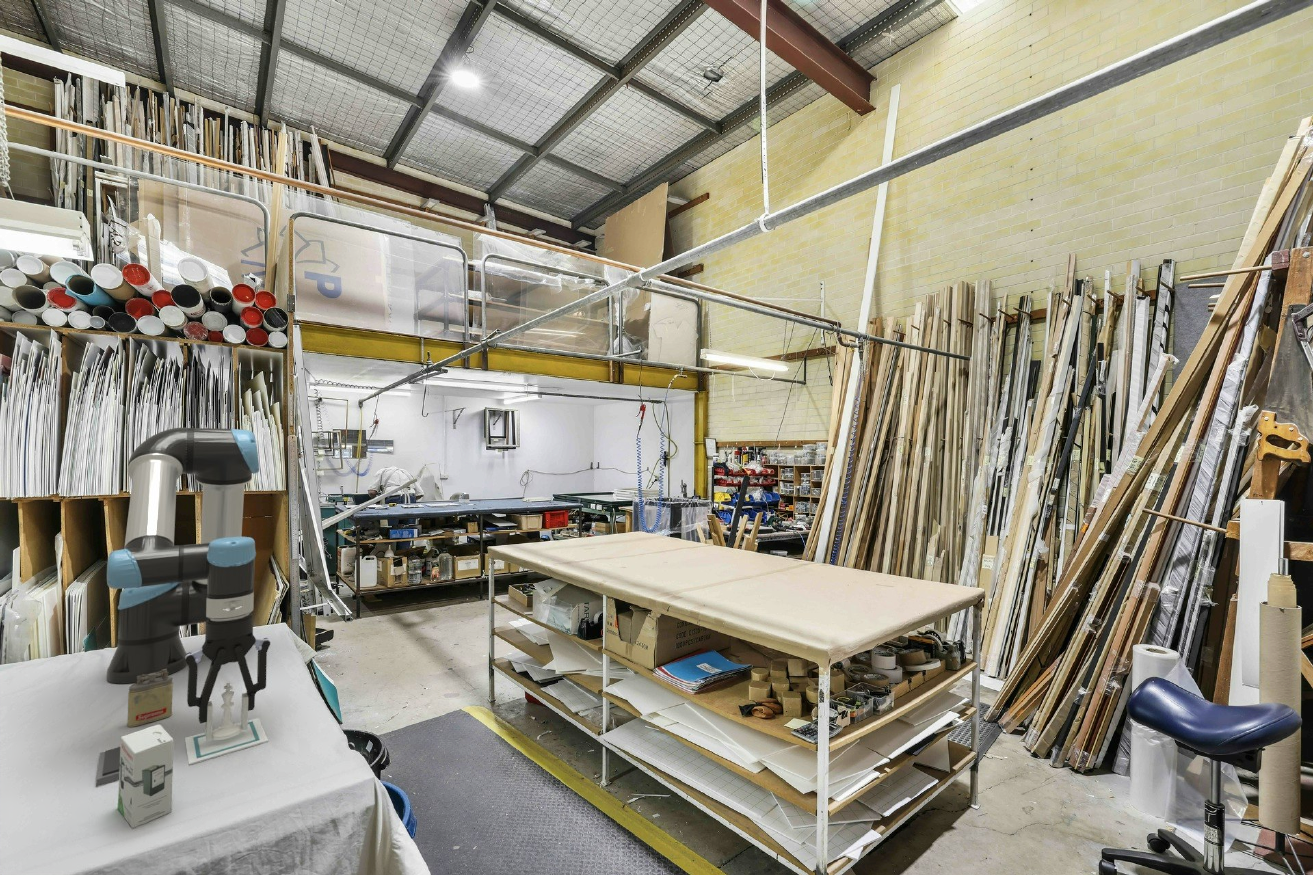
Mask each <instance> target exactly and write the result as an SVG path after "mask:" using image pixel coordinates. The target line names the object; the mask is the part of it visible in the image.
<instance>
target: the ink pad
mask: <svg viewBox="0 0 1313 875" xmlns="http://www.w3.org/2000/svg"><path fill="white" fill-rule="evenodd" d="M97 765H98V766H97V772H96V773H97V774H96V781H95V782H96V784H95V786H96V787H99V786H103V785H107V784H110V783H113V782H117V781H119V771H120V746H117V747H113V748H111V749H106V750H105V751H101V752H99V757H98V764H97Z"/></svg>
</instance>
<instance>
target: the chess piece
mask: <svg viewBox="0 0 1313 875" xmlns="http://www.w3.org/2000/svg"><path fill="white" fill-rule="evenodd" d="M233 688H234V687H233V686H232V685H231V682H228V683H227V682H226V685H224V686H223V690H225V692H223V693H221V698H222V700H223V704H221V705H220V709H223V710H224V711H223V716H222V722H221V725H220V726H219V727H217V728H216V729H213V730H214V731H213V732H212V739H213V740H223V739H228V738H231V737H234V736H236V735H238V734H239V733H240V732H241V731H242V726H241V725H240V724H238V723H235V722H234V721H233V719H232V712H231V711H232V709H231V707H233V706H235V703H234V702H233V701H232V699H233V697H234V695H235V691H233Z"/></svg>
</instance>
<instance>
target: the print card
mask: <svg viewBox="0 0 1313 875" xmlns="http://www.w3.org/2000/svg"><path fill="white" fill-rule="evenodd" d="M237 724H240V725H241V722H238V723H237ZM214 730H215V729H212V732H213V731H214ZM205 734H206V731H205V732H201V733H198V734H194V735H190V736H186V737H184V741H185V742H184V743H185V749H186V755H187V762H188V766H192V765H195V764H198V763H202V762H206V761H209V760H212V759H215V758H218V757H219V758H220V757H221V756H225V755H228V754H232V753H236V752H238V751H242V750H245V749H249V748H252V747H255V746H259V745H262V744H265V743H268V742H269V739H268V737H267V735H266V732H265V730H264V728H263V725H262V723H261V720H260V718H259V717H257V718H252V719H250V720H249V719H248V728H247V730H242V731H241V732H240V733H239V734H238V735H236V736H234V737H231V738H228V739H223V740H213V739H211V740H206V735H205Z"/></svg>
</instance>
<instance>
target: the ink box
mask: <svg viewBox="0 0 1313 875" xmlns="http://www.w3.org/2000/svg"><path fill="white" fill-rule="evenodd" d="M174 742H175V741H174V739H173V737H172V736H171V735H170V734H169V733H168V731H166V729H165V728H164V727H163V726H162V725H161V724H155V725H152V726H149V727H147V728H144V729H141V730H138V731H135V732H131V733H128V734H125V735H122V736H120V746H119V747H120V771H119V780H118V794H117V795H118V798H117V799H118V800H117V809H118V810H119V811H120V813H121V815H122V816H123V817H124V819H125V820H126V822H127V823H128V824H129V826H130V827H131V829H134V828H137V827H138V826H141V825H144V824H147V823H149V822H151V821H154V820H155V819H158V818H161V817H162V816H165V815H167V814H169V813H172V809H173V807H172V804H173V773H174V769H173V768H174V766H173V765H174Z"/></svg>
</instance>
